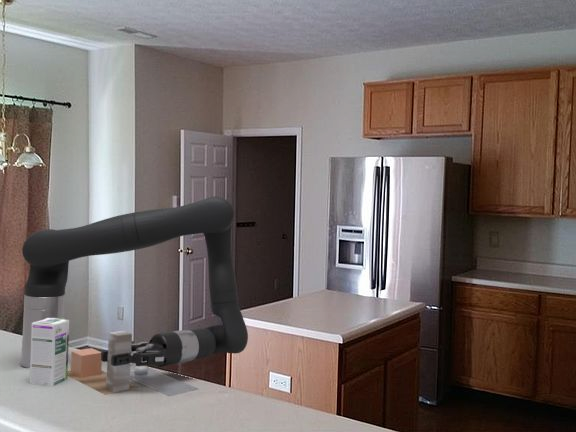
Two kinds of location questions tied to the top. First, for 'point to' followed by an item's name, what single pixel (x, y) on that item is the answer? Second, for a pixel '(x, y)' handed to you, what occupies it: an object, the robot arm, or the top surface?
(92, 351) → the terracotta block
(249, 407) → the top surface
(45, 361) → the syrup box
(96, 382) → the base with upright panel
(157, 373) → the grey flat slab
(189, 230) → the robot arm
